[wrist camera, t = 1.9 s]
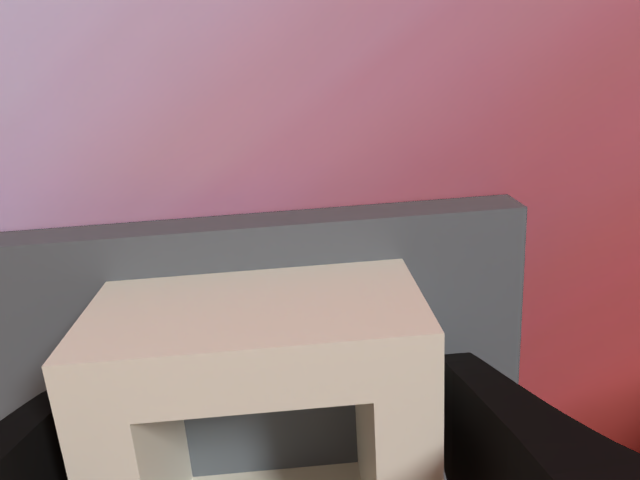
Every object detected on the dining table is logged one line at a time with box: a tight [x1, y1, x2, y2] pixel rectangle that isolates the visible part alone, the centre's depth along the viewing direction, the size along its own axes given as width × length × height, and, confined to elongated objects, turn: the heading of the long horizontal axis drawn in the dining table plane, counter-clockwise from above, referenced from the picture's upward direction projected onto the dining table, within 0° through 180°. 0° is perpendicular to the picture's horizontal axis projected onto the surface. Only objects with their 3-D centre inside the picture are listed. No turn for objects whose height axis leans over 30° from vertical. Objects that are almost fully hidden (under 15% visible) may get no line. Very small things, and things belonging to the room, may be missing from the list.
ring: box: [42, 259, 445, 480], centre depth 10 cm, size 5×5×3 cm
